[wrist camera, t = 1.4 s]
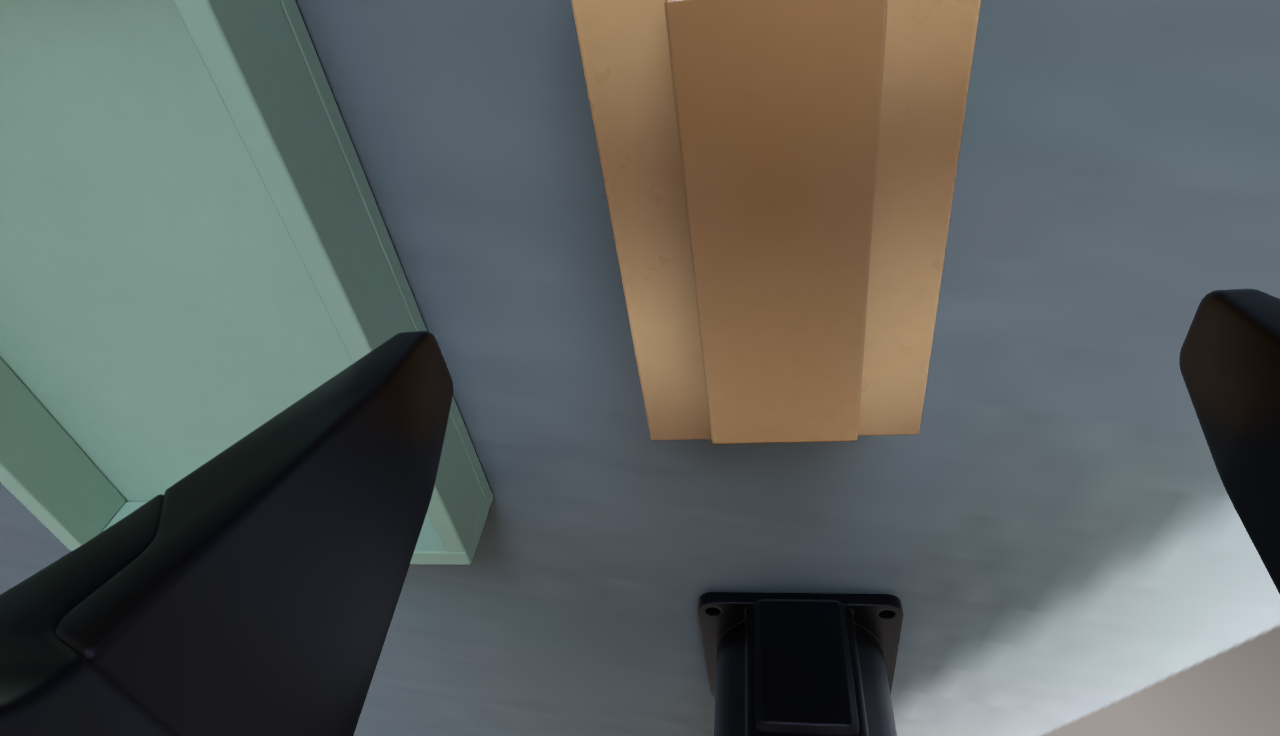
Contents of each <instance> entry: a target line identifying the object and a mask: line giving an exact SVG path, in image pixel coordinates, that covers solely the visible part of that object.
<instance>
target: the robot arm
mask: <svg viewBox="0 0 1280 736" xmlns="http://www.w3.org/2000/svg"><path fill="white" fill-rule="evenodd" d="M1180 369H1181V373H1182V376H1183V379H1184V381H1185V384H1186V387H1187V389H1188V392H1189V395H1190V398H1191V400H1192V403H1193V406H1194V408H1195V411H1196V414H1197V417H1198V419H1199V422H1200V425H1201V427H1202V430H1203V433H1204V435H1205V438H1206V441H1207V444H1208V446H1209V449H1210V452H1211V454H1212V457H1213V460H1214V463H1215V465H1216V468H1217V470H1218V473H1219V475H1220V478H1221V480H1222V482H1223V485H1224V487H1225V489H1226V491H1227V493H1228V495H1229V497H1230V499H1231V501H1232V503H1233V505H1234V507H1235V509H1236V511H1237V513H1238V515H1239V517H1240V519H1241V521H1242V523H1243V525H1244V527H1245V528H1246V530H1247V532H1248V534H1249V536H1250V538H1251V540H1252V542H1253V544H1254V546H1255V548H1256V549H1257V551H1258V553H1259V555H1260V557H1261V559H1262V561H1263V563H1264V565H1265V567H1266V569H1267V571H1268V572H1269V574H1270V576H1271V578H1272V580H1273V582H1274V584H1275V586H1276V588H1277V590H1278V592H1279V594H1280V299H1278V298H1276V297H1274V296H1271V295H1269V294H1266V293H1264V292H1261V291H1259V290H1255V289H1234V290H1216V291H1213V292H1210V293H1208V294H1207V295H1206V296H1205V297H1204V298H1203V299H1202V301H1201V303H1200V304H1199V307H1198V309H1197V312H1196V314H1195V317H1194V319H1193V321H1192V324H1191V326H1190V329H1189V331H1188V334H1187V336H1186V338H1185V341H1184V343H1183V346H1182V348H1181V352H1180ZM452 398H453V383H452V379H451V376H450V373H449V371H448V368H447V366H446V363H445V361H444V358H443V355H442V353H441V350H440V348H439V345H438V343H437V340H436V339H435V337H434V336H433V334H431V333H430V332H428V331H414V332H401V333H398V334H396V335H395V336H393V337H392V338H390V339H389V340H387V341H386V342H384V343H383V344H381V345H380V346H378V347H377V348H375V349H374V350H372V351H371V352H369V353H368V354H366V355H365V356H363V357H362V358H361V359H359V360H358V361H356V362H355V363H353V364H352V365H350V366H349V367H347V368H346V369H344V370H343V371H341V372H340V373H338V374H337V375H335V376H334V377H332V378H331V379H329V380H328V381H326V382H325V383H323V384H322V385H320V386H319V387H318V388H316V389H315V390H313V391H312V392H310V393H309V394H307V395H306V396H304V397H303V398H301V399H300V400H298V401H297V402H295V403H294V404H292V405H291V406H289V407H288V408H286V409H285V410H283V411H282V412H280V413H279V414H277V415H276V416H275V417H273V418H272V419H270V420H269V421H267V422H266V423H264V424H263V425H261V426H260V427H258V428H257V429H255V430H254V431H252V432H251V433H249V434H248V435H246V436H245V437H243V438H242V439H240V440H239V441H237V442H236V443H234V444H233V445H232V446H230V447H229V448H227V449H226V450H224V451H223V452H221V453H220V454H218V455H217V456H215V457H214V458H212V459H211V460H209V461H208V462H206V463H205V464H203V465H202V466H200V467H199V468H197V469H196V470H194V471H193V472H192V473H190V474H189V475H187V476H186V477H184V478H183V479H181V480H180V481H178V482H177V483H175V484H174V485H172V486H171V487H169V488H168V489H166V491H165V494H164V495H163V494H159V495H157V496H156V497H154V498H153V499H151V500H150V501H148V502H147V503H145V504H144V505H142V506H141V507H139V508H138V509H136V510H135V511H134V512H132V513H131V514H129V515H127V516H126V517H124V518H123V519H121V520H120V521H118V522H117V523H115V524H114V525H112V526H111V527H109V528H108V529H106V530H105V531H103V532H101V533H100V534H98V535H97V536H95V537H94V538H92V539H91V540H89V541H88V542H86V543H85V544H83V545H81V546H80V547H78V548H77V549H75V550H73V551H72V552H70V553H68V554H67V555H65V556H64V557H62V558H60V559H59V560H57V561H55V562H54V563H52V564H51V565H49V566H47V567H46V568H44V569H42V570H41V571H39V572H38V573H36V574H34V575H33V576H31V577H29V578H28V579H26V580H24V581H23V582H21V583H19V584H18V585H16V586H14V587H13V588H11V589H9V590H8V591H6V592H4V593H3V594H1V595H0V736H353V735H354V732H355V729H356V726H357V723H358V720H359V717H360V714H361V711H362V708H363V705H364V702H365V699H366V696H367V692H368V689H369V686H370V683H371V680H372V677H373V674H374V671H375V668H376V665H377V662H378V659H379V656H380V653H381V650H382V647H383V644H384V641H385V638H386V635H387V632H388V629H389V626H390V623H391V620H392V617H393V614H394V611H395V608H396V605H397V602H398V599H399V596H400V593H401V590H402V586H403V583H404V580H405V577H406V574H407V571H408V568H409V565H410V562H411V559H412V556H413V553H414V550H415V547H416V544H417V541H418V538H419V535H420V532H421V529H422V526H423V523H424V520H425V517H426V514H427V511H428V507H429V504H430V501H431V497H432V494H433V490H434V486H435V481H436V477H437V472H438V467H439V462H440V457H441V452H442V448H443V443H444V438H445V433H446V428H447V423H448V418H449V413H450V408H451V403H452ZM698 612H699V619H700V625H701V632H702V638H703V644H704V651H705V657H706V664H707V670H708V676H709V683H710V689H711V693H712V695H713V696H715V726H714V736H897V733H896V727H895V721H894V714H893V708H892V702H891V696H890V695H891V689H892V682H893V676H894V670H895V663H896V657H897V651H898V644H899V638H900V632H901V625H902V619H903V611H902V606H901V601H900V599H899V598H898V597H896V596H893V595H887V594H813V593H731V592H711V593H705V594H703V595H701V596H700V597H699V608H698Z"/></svg>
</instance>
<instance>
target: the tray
mask: <svg viewBox="0 0 1280 736" xmlns="http://www.w3.org/2000/svg"><path fill="white" fill-rule="evenodd" d="M414 331H427V329H426V327H425V324H424V322H423V319H422V317H421V314H420V312H419V309H418V307H417V304H416V302H415V299H414V297H413V294H412V292H411V289H410V287H409V284H408V282H407V279H406V277H405V274H404V272H403V269H402V267H401V264H400V262H399V259H398V257H397V254H396V252H395V249H394V247H393V244H392V242H391V239H390V237H389V234H388V232H387V229H386V227H385V224H384V222H383V219H382V217H381V214H380V212H379V209H378V207H377V204H376V201H375V199H374V196H373V194H372V191H371V189H370V186H369V184H368V181H367V179H366V176H365V174H364V171H363V169H362V166H361V164H360V161H359V159H358V156H357V154H356V151H355V149H354V146H353V144H352V141H351V139H350V136H349V134H348V131H347V129H346V126H345V124H344V121H343V119H342V116H341V114H340V111H339V109H338V106H337V104H336V101H335V99H334V96H333V94H332V91H331V89H330V86H329V84H328V81H327V79H326V76H325V74H324V71H323V69H322V66H321V64H320V61H319V59H318V56H317V54H316V51H315V49H314V46H313V44H312V41H311V39H310V36H309V34H308V31H307V29H306V26H305V24H304V21H303V19H302V16H301V14H300V11H299V9H298V6H297V4H296V1H295V0H0V482H1V483H2V484H3V485H4V486H5V487H6V488H7V489H8V490H9V491H10V492H11V493H12V494H13V495H14V496H15V497H16V498H17V499H18V500H19V501H20V502H21V503H22V504H23V505H24V506H25V507H26V508H27V509H28V510H29V511H30V512H31V513H32V514H33V515H34V516H35V517H36V518H37V519H38V520H39V521H40V522H41V523H43V524H44V525H45V526H46V527H47V528H48V529H49V530H50V531H51V532H52V533H53V534H54V535H55V536H56V537H57V538H58V539H59V540H60V541H61V542H62V543H63V544H64V545H65V546H66V547H67V548H68V549H69V550H71V551H73V550H75V549H77V548H78V547H80V546H81V545H83V544H85V543H86V542H88V541H89V540H91V539H92V538H94V537H95V536H97V535H98V534H100V533H101V532H103V531H105V530H106V529H108V528H109V527H111V526H112V525H114V524H115V523H117V522H118V521H120V520H121V519H123V518H124V517H126V516H127V515H129V514H131V513H132V512H134V511H135V510H136V509H138V508H139V507H141V506H142V505H144V504H145V503H147V502H148V501H150V500H151V499H153V498H154V497H156V496H157V495H159V494H163V495H164V494H165V491H166V489H168V488H169V487H171V486H172V485H174V484H175V483H177V482H178V481H180V480H181V479H183V478H184V477H186V476H187V475H189V474H190V473H192V472H193V471H194V470H196V469H197V468H199V467H200V466H202V465H203V464H205V463H206V462H208V461H209V460H211V459H212V458H214V457H215V456H217V455H218V454H220V453H221V452H223V451H224V450H226V449H227V448H229V447H230V446H232V445H233V444H234V443H236V442H237V441H239V440H240V439H242V438H243V437H245V436H246V435H248V434H249V433H251V432H252V431H254V430H255V429H257V428H258V427H260V426H261V425H263V424H264V423H266V422H267V421H269V420H270V419H272V418H273V417H275V416H276V415H277V414H279V413H280V412H282V411H283V410H285V409H286V408H288V407H289V406H291V405H292V404H294V403H295V402H297V401H298V400H300V399H301V398H303V397H304V396H306V395H307V394H309V393H310V392H312V391H313V390H315V389H316V388H318V387H319V386H320V385H322V384H323V383H325V382H326V381H328V380H329V379H331V378H332V377H334V376H335V375H337V374H338V373H340V372H341V371H343V370H344V369H346V368H347V367H349V366H350V365H352V364H353V363H355V362H356V361H358V360H359V359H361V358H362V357H363V356H365V355H366V354H368V353H369V352H371V351H372V350H374V349H375V348H377V347H378V346H380V345H381V344H383V343H384V342H386V341H387V340H389V339H390V338H392V337H393V336H395V335H396V334H398V333H401V332H414ZM492 500H493V494H492V492H491V489H490V487H489V484H488V482H487V479H486V477H485V474H484V472H483V469H482V467H481V464H480V462H479V459H478V457H477V454H476V452H475V449H474V447H473V444H472V442H471V439H470V437H469V434H468V432H467V429H466V427H465V424H464V422H463V419H462V417H461V414H460V412H459V409H458V407H457V404H456V402H455V399H454V397H453V398H452V403H451V408H450V413H449V418H448V423H447V428H446V433H445V438H444V443H443V448H442V452H441V457H440V462H439V467H438V472H437V477H436V481H435V486H434V490H433V494H432V497H431V501H430V504H429V507H428V511H427V514H426V517H425V520H424V523H423V526H422V529H421V532H420V535H419V538H418V541H417V544H416V547H415V550H414V553H413V556H412V559H411V562H410V564H426V565H470V564H471V563H472V561H473V558H474V554H475V551H476V548H477V545H478V542H479V539H480V536H481V533H482V530H483V527H484V524H485V521H486V518H487V515H488V512H489V509H490V506H491V503H492Z"/></svg>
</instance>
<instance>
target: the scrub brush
mask: <svg viewBox="0 0 1280 736" xmlns="http://www.w3.org/2000/svg"><path fill="white" fill-rule="evenodd" d="M571 4H572V10H573V15H574V21H575V26H576V32H577V37H578V43H579V48H580V54H581V59H582V65H583V70H584V76H585V81H586V87H587V92H588V98H589V103H590V109H591V114H592V120H593V125H594V131H595V136H596V142H597V147H598V153H599V158H600V164H601V169H602V175H603V180H604V186H605V191H606V197H607V202H608V208H609V213H610V219H611V224H612V230H613V235H614V241H615V246H616V252H617V257H618V263H619V268H620V274H621V280H622V285H623V291H624V296H625V302H626V307H627V313H628V318H629V324H630V329H631V335H632V340H633V346H634V351H635V357H636V362H637V368H638V373H639V379H640V384H641V390H642V395H643V401H644V406H645V412H646V417H647V423H648V428H649V434H650V438H651V440H696V439H711V441H712V443H713V444H739V443H785V442H831V441H856V440H857V438H858V436H872V435H916V434H919V432H920V426H921V419H922V412H923V405H924V398H925V391H926V384H927V377H928V370H929V363H930V356H931V349H932V342H933V335H934V328H935V321H936V314H937V307H938V300H939V293H940V286H941V279H942V272H943V265H944V258H945V251H946V244H947V237H948V230H949V223H950V216H951V209H952V202H953V195H954V188H955V181H956V174H957V167H958V160H959V153H960V146H961V139H962V132H963V125H964V118H965V111H966V104H967V97H968V90H969V83H970V76H971V69H972V62H973V55H974V48H975V41H976V34H977V27H978V20H979V13H980V6H981V0H571Z"/></svg>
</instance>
